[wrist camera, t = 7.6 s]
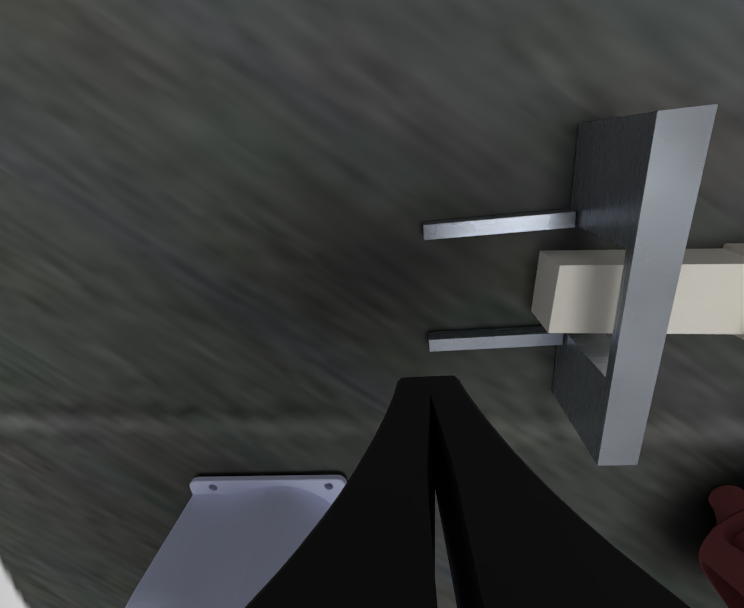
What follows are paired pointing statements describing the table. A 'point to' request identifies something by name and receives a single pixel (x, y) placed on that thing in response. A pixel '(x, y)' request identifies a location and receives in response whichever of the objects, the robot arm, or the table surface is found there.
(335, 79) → the table surface
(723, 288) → the cream l-shaped block
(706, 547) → the mechanical component
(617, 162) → the housing
